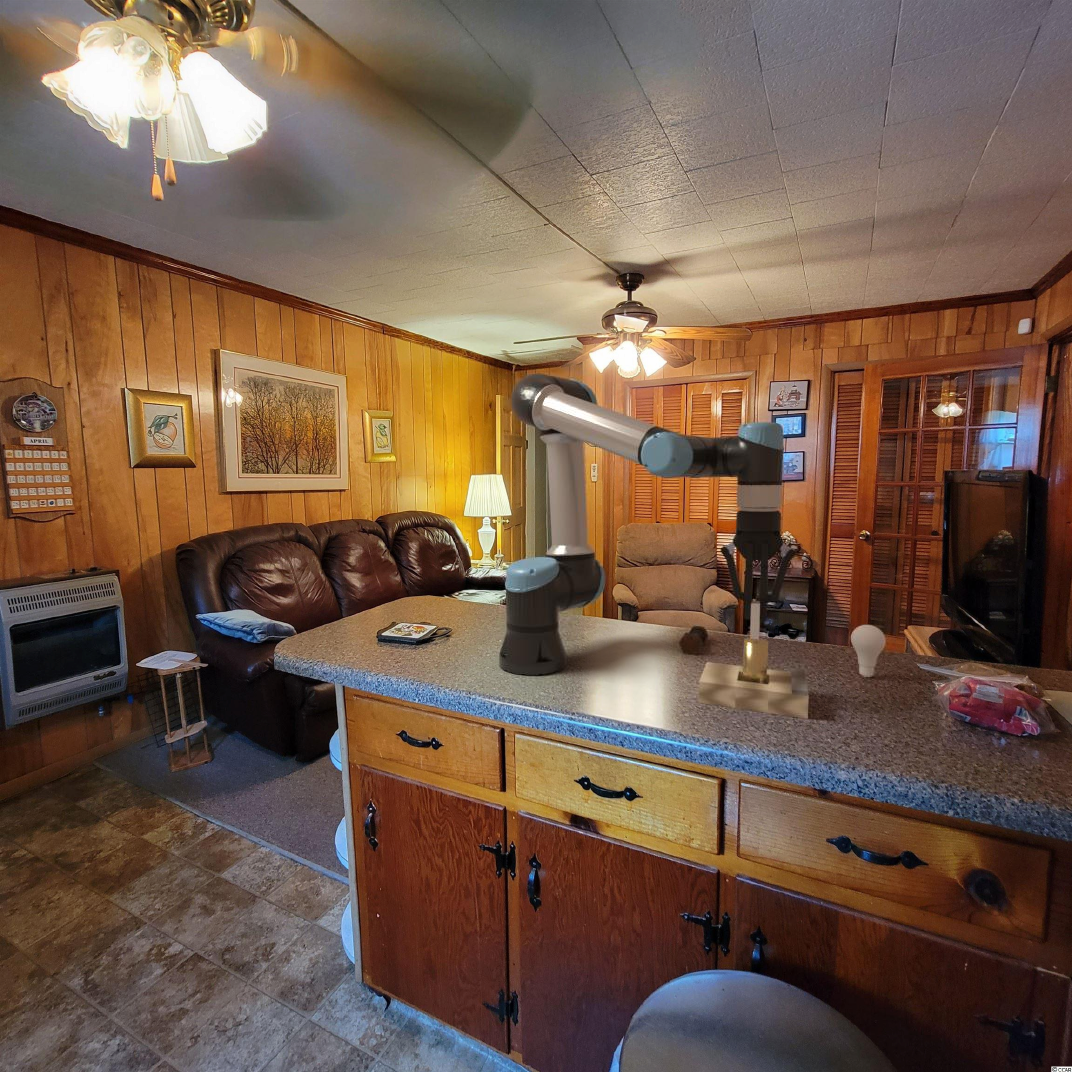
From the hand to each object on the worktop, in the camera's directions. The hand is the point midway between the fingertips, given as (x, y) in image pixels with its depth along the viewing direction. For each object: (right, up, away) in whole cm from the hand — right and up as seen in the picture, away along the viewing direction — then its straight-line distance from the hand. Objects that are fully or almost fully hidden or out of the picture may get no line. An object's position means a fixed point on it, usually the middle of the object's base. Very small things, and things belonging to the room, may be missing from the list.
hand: (754, 636), depth 102 cm
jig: (0, -12, +1) cm, 12 cm away
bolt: (-1, -9, +34) cm, 36 cm away
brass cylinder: (0, -12, +1) cm, 12 cm away
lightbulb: (+28, -11, +12) cm, 32 cm away
